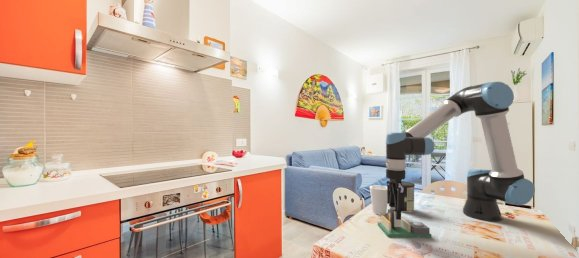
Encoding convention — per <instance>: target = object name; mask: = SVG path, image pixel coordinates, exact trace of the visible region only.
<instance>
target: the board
mask: <svg viewBox="0 0 579 258" xmlns="http://www.w3.org/2000/svg"><path fill="white" fill-rule="evenodd" d="M380 220H381V221H380V222H378V221H377V226H378V227H379V228H380V230H381V231H382V233H384V234H385V235H386V236H387V238H432V234H431V231H430V230H431V229H430V227H428V226H427V225H426V224H425V223H423V222H421V221H420V222H416V221H415V222H413V221H411V222H410V221H409V222H408V221H407V220H405V219H404V218H403V217H402V216H401V227H391V223H390V222H389V221H388V218H386V216H385V215H380Z"/></svg>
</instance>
